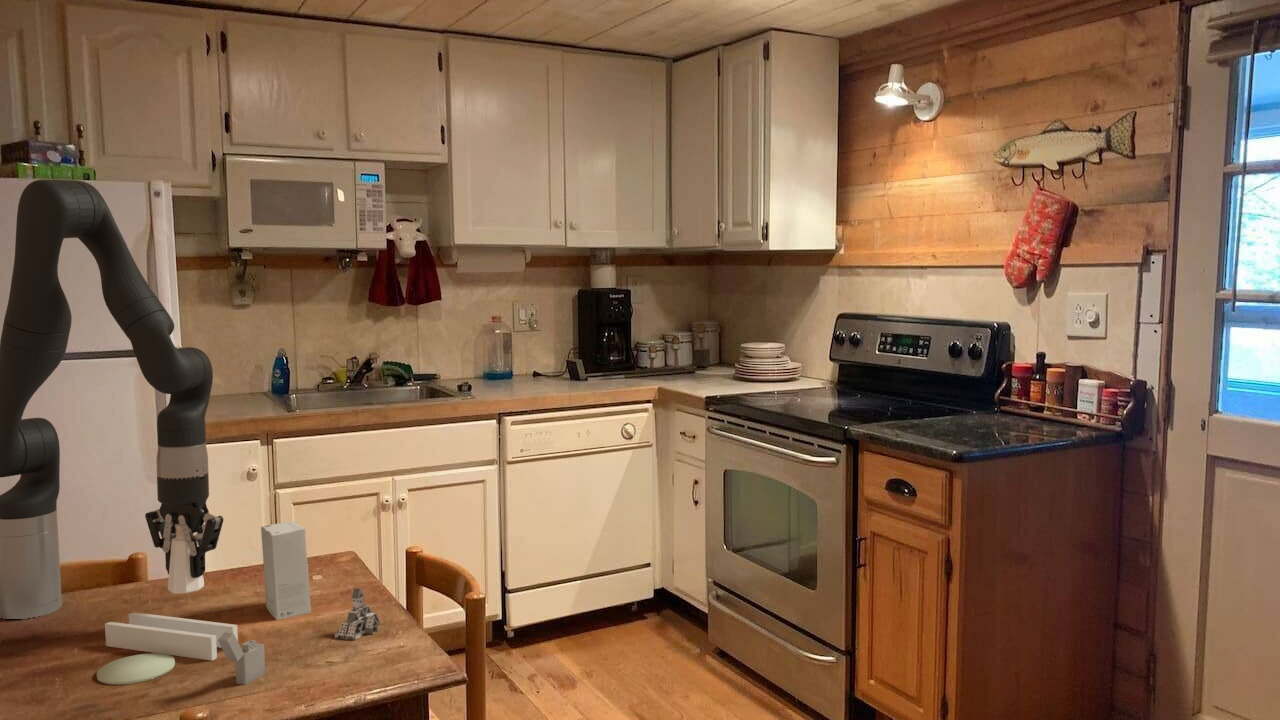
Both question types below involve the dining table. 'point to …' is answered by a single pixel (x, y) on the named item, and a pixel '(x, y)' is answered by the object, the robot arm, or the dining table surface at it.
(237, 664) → the lighter
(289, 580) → the skincare box
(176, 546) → the pepper shaker
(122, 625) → the low walls
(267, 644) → the dining table surface
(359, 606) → the house of cards
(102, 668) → the pad
